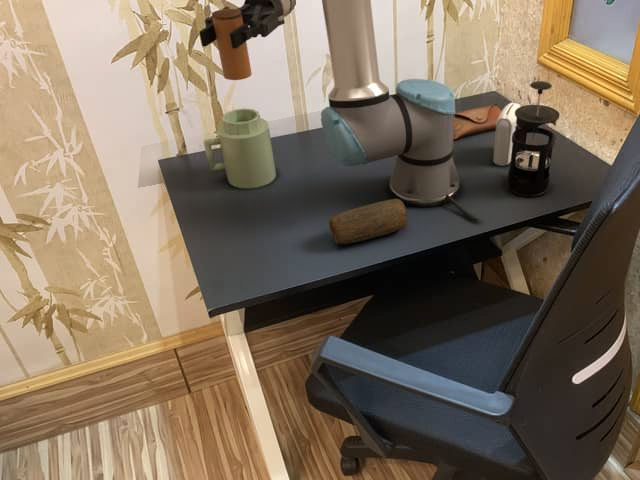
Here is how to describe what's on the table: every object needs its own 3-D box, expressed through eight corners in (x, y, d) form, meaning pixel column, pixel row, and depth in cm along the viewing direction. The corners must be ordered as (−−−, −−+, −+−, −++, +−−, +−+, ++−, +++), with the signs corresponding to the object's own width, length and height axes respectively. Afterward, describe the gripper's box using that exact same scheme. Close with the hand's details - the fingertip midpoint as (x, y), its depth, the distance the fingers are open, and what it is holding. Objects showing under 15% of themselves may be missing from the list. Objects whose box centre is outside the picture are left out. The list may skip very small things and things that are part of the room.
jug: (279, 184, 139) (269, 123, 129) (213, 194, 136) (199, 131, 127) (273, 162, 147) (263, 102, 138) (211, 170, 144) (197, 110, 135)
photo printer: (502, 146, 152) (507, 96, 144) (519, 149, 151) (525, 99, 143) (490, 164, 145) (494, 114, 137) (508, 167, 143) (513, 116, 135)
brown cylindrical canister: (253, 78, 125) (242, 15, 118) (224, 81, 124) (212, 18, 117) (250, 69, 129) (240, 7, 122) (223, 72, 128) (210, 10, 121)
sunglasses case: (454, 139, 154) (448, 112, 152) (441, 143, 160) (435, 117, 159) (514, 124, 160) (508, 98, 158) (499, 129, 166) (494, 104, 165)
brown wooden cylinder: (394, 217, 128) (393, 188, 124) (410, 234, 123) (410, 205, 119) (326, 236, 123) (323, 207, 118) (340, 255, 118) (338, 225, 114)
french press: (558, 194, 134) (576, 89, 119) (520, 202, 132) (533, 96, 117) (531, 169, 143) (545, 69, 128) (495, 177, 140) (504, 75, 125)
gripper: (308, 27, 135) (266, 63, 118) (230, 22, 139) (178, 56, 122) (305, -10, 131) (259, 22, 113) (224, -14, 134) (168, 16, 117)
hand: (217, 40), depth 118 cm, fingers closed on brown cylindrical canister, 6 cm apart
